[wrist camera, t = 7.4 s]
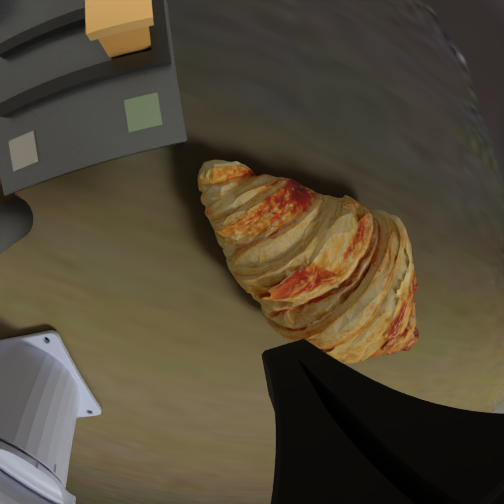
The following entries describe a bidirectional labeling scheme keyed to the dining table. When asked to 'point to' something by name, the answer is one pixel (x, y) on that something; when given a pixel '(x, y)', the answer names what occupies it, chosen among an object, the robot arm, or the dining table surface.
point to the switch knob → (119, 24)
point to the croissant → (314, 261)
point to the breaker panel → (79, 93)
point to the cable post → (14, 222)
